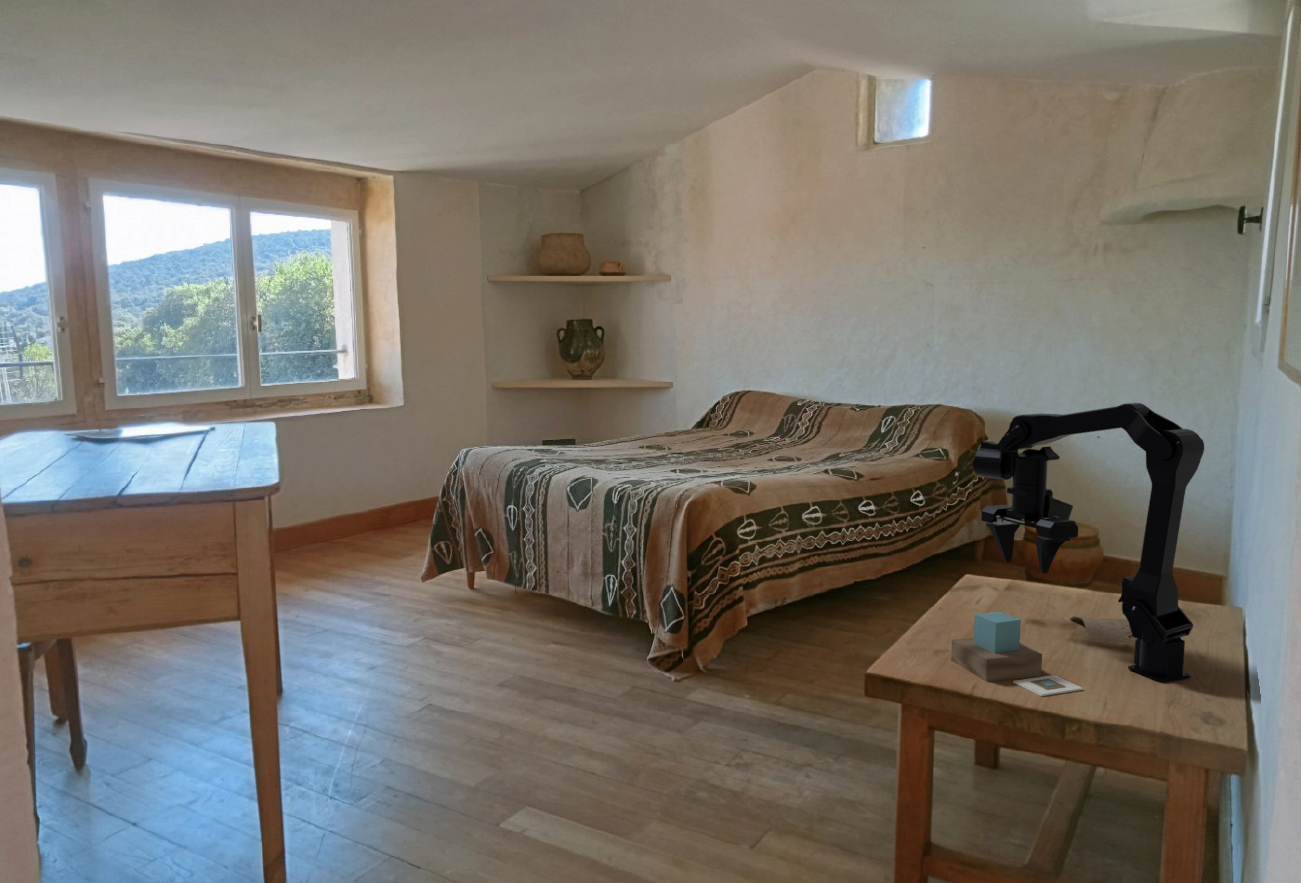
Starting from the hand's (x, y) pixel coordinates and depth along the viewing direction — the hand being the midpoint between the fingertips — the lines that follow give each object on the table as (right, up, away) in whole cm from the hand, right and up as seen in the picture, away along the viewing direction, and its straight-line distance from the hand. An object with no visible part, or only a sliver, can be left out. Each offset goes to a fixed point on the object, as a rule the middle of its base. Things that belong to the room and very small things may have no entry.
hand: (1025, 567), depth 167 cm
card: (-7, -15, -25) cm, 30 cm away
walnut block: (-12, -15, -16) cm, 25 cm away
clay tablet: (+16, -13, +3) cm, 21 cm away
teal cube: (-12, -11, -17) cm, 23 cm away
